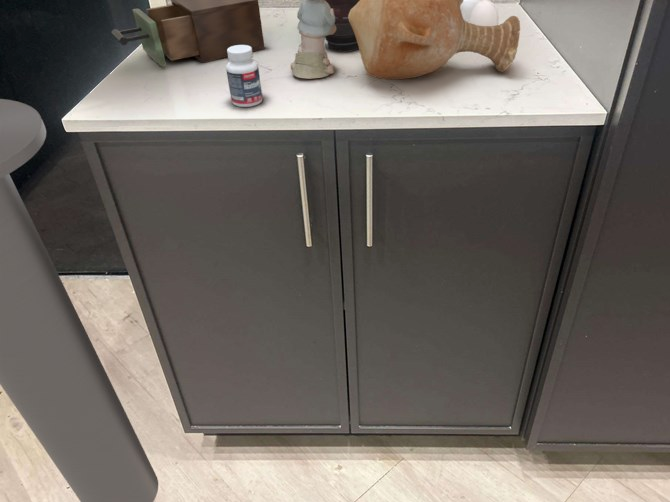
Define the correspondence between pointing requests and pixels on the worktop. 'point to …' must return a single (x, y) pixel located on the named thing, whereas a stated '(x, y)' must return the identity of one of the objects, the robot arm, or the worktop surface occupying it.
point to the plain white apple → (468, 8)
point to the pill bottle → (243, 76)
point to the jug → (425, 36)
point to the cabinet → (223, 25)
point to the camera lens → (342, 26)
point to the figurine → (313, 39)
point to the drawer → (163, 33)
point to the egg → (484, 14)
